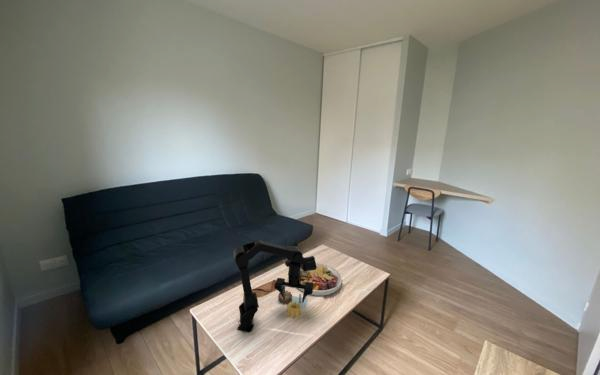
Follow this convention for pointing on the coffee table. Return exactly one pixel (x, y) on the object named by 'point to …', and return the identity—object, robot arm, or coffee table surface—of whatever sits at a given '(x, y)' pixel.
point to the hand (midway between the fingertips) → (293, 300)
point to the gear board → (297, 301)
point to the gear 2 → (293, 309)
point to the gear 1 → (287, 298)
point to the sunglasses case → (264, 289)
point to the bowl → (322, 279)
